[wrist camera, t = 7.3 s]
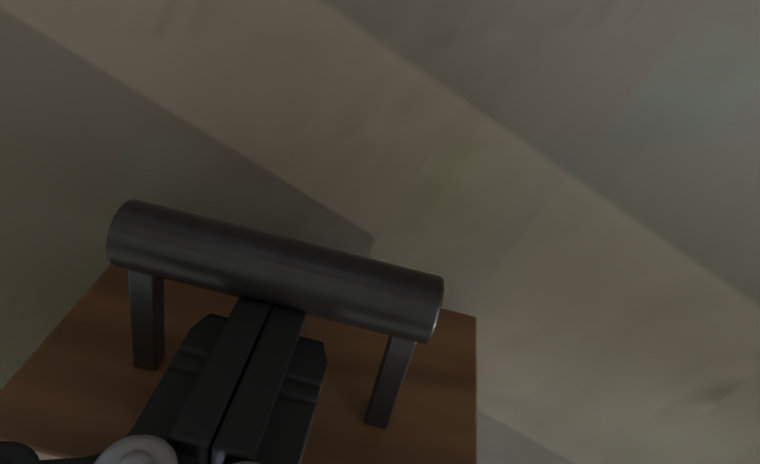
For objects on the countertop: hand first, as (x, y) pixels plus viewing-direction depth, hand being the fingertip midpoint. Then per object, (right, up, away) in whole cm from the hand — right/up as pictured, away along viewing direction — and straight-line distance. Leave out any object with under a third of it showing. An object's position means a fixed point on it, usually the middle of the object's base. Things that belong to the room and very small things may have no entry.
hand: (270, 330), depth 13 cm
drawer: (-1, -3, +8) cm, 9 cm away
